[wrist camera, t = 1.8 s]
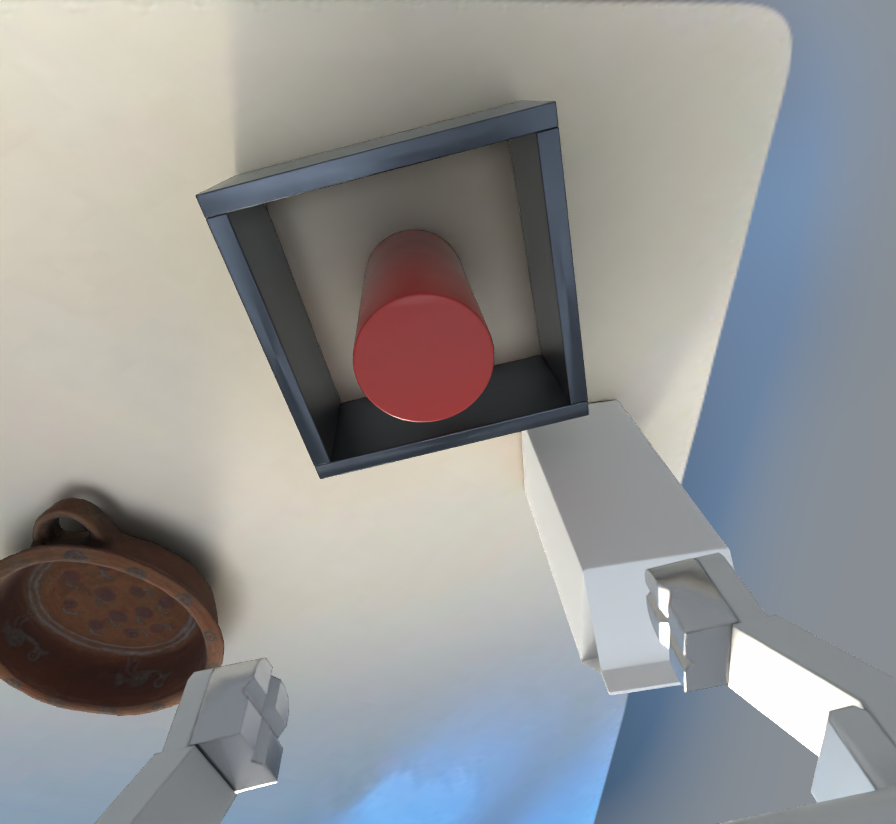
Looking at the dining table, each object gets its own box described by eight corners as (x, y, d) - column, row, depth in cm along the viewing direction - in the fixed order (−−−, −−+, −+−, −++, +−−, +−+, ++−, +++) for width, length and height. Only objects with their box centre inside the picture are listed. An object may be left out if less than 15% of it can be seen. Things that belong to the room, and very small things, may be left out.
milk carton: (519, 412, 39) (612, 643, 22) (617, 398, 39) (781, 617, 22) (523, 490, 42) (606, 738, 26) (613, 477, 42) (752, 715, 26)
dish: (210, 478, 39) (188, 525, 35) (258, 670, 50) (245, 724, 46) (-50, 488, 38) (-107, 538, 33) (58, 684, 49) (26, 741, 44)
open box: (235, 175, 30) (194, 195, 24) (521, 100, 29) (556, 101, 23) (331, 418, 38) (319, 480, 32) (557, 363, 37) (589, 415, 31)
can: (352, 243, 32) (333, 313, 22) (451, 218, 32) (480, 276, 21) (381, 336, 35) (376, 436, 25) (471, 313, 35) (505, 405, 24)
